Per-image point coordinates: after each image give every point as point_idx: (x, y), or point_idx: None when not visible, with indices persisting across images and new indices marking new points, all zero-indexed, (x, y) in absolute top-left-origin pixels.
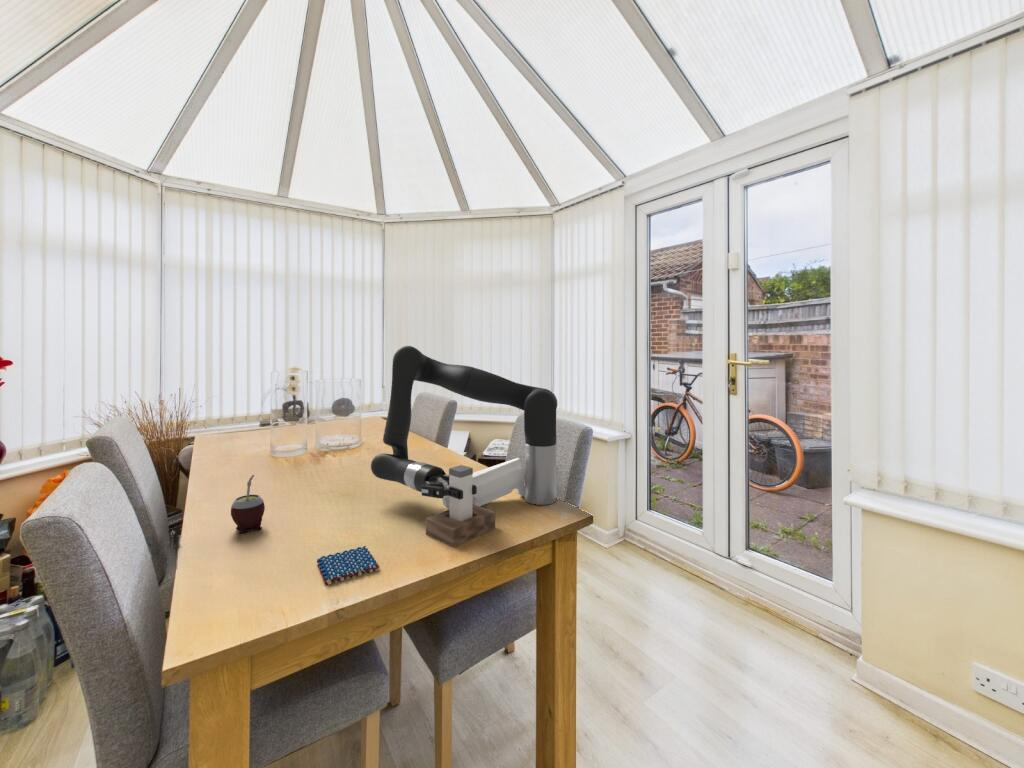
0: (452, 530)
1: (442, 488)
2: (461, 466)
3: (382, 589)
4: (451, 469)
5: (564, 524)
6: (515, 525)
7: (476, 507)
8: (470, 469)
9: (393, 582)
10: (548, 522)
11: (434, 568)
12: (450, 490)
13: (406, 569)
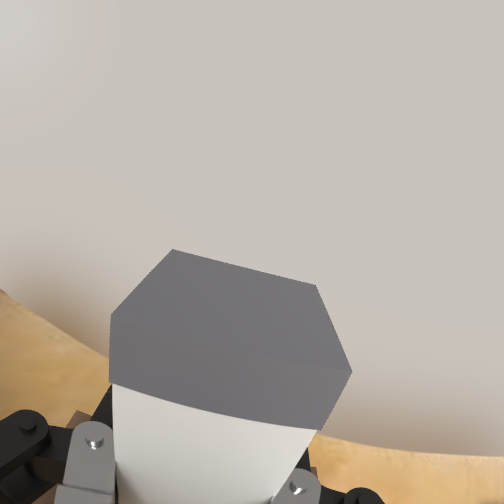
0: (316, 471)
1: (360, 488)
2: (176, 303)
3: (479, 461)
4: (340, 345)
5: (26, 311)
6: (48, 398)
7: (51, 489)
8: (198, 261)
9: (463, 468)
10: (17, 334)
11: (387, 460)
12: (306, 460)
13: (437, 490)
